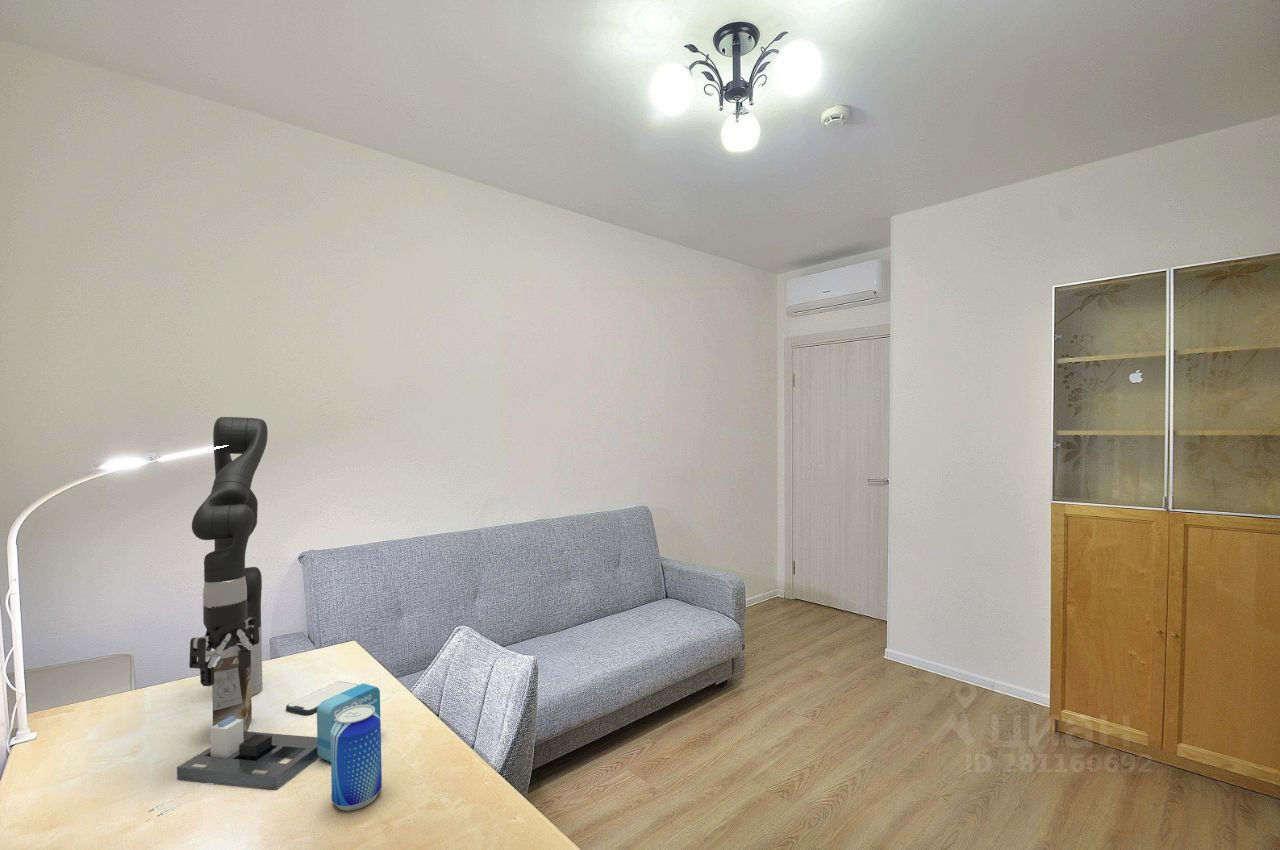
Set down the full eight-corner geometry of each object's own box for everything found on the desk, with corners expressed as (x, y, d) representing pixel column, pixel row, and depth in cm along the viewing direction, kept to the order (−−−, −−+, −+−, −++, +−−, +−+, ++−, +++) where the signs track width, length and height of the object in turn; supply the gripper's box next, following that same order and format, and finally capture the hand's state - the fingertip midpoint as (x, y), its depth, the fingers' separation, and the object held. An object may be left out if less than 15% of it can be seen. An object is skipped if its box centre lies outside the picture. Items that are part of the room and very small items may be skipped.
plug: (210, 766, 118) (210, 723, 118) (227, 755, 122) (227, 714, 122) (227, 768, 118) (226, 725, 118) (243, 757, 122) (243, 715, 122)
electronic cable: (147, 812, 105) (147, 810, 105) (207, 782, 113) (207, 780, 113) (159, 818, 103) (159, 816, 103) (219, 787, 112) (219, 785, 112)
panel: (177, 779, 114) (176, 754, 114) (238, 741, 128) (238, 719, 128) (276, 790, 110) (276, 764, 110) (328, 749, 124) (328, 726, 124)
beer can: (369, 779, 112) (367, 698, 113) (390, 795, 107) (388, 710, 107) (324, 801, 106) (322, 715, 106) (344, 820, 101) (342, 729, 101)
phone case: (338, 686, 157) (283, 712, 142) (338, 680, 157) (283, 705, 142) (362, 690, 153) (308, 718, 139) (362, 684, 154) (309, 711, 139)
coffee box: (246, 736, 130) (245, 665, 130) (212, 744, 127) (211, 672, 127) (252, 718, 138) (251, 652, 138) (220, 725, 135) (219, 657, 135)
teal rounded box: (330, 766, 117) (329, 708, 117) (317, 760, 119) (316, 703, 120) (381, 738, 128) (380, 684, 128) (368, 733, 130) (367, 680, 130)
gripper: (239, 590, 128) (240, 662, 128) (177, 609, 114) (179, 690, 114) (268, 590, 127) (269, 663, 127) (209, 610, 113) (210, 693, 113)
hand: (226, 676), depth 120 cm, fingers open, 8 cm apart
